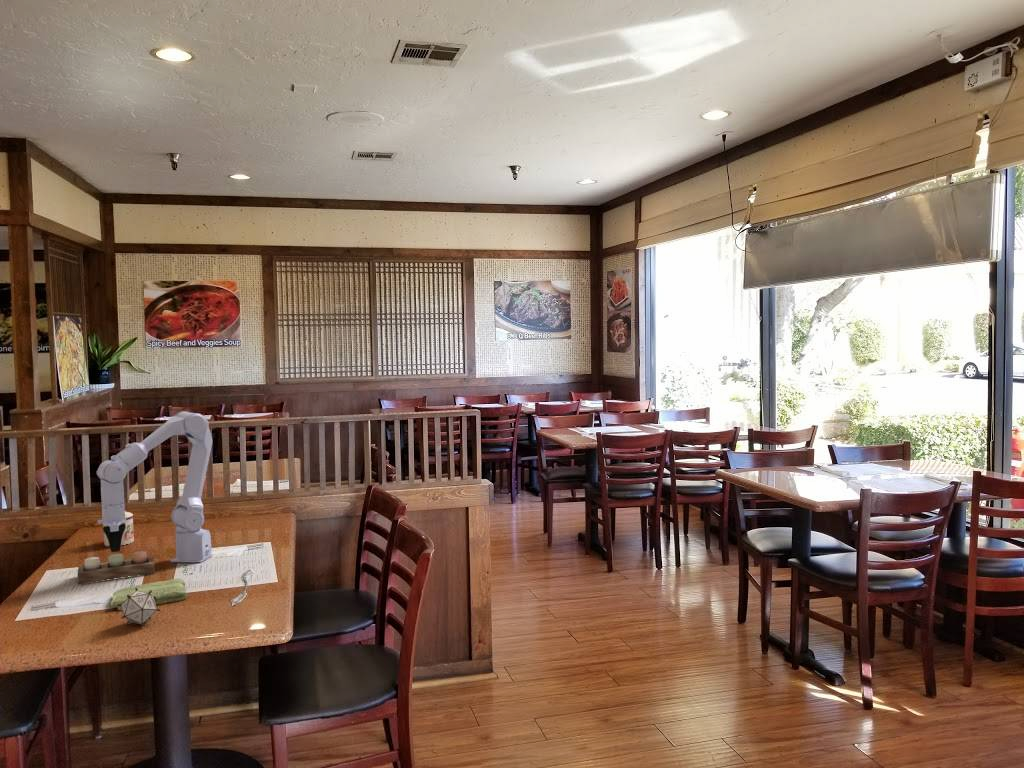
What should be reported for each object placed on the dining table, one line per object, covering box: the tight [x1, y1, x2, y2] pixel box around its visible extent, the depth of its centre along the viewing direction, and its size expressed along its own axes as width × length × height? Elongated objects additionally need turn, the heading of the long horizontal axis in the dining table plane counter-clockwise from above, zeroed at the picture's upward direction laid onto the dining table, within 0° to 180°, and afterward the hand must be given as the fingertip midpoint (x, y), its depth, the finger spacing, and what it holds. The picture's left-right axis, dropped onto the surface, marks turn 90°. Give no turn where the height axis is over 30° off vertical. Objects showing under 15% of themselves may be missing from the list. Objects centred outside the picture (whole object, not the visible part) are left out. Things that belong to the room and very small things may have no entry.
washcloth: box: [110, 577, 188, 611], centre depth 203 cm, size 13×18×3 cm
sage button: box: [108, 553, 124, 567], centre depth 222 cm, size 4×4×2 cm
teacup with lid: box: [102, 510, 135, 547], centre depth 256 cm, size 12×9×12 cm
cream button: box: [84, 556, 100, 570], centre depth 219 cm, size 4×4×2 cm
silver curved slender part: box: [230, 568, 254, 607], centre depth 211 cm, size 32×1×5 cm
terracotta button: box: [132, 550, 148, 563], centre depth 225 cm, size 4×4×2 cm
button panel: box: [77, 555, 156, 585], centre depth 222 cm, size 19×8×3 cm, turn 117°
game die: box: [117, 588, 162, 627], centre depth 185 cm, size 9×8×10 cm
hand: (115, 551), depth 222 cm, fingers closed
